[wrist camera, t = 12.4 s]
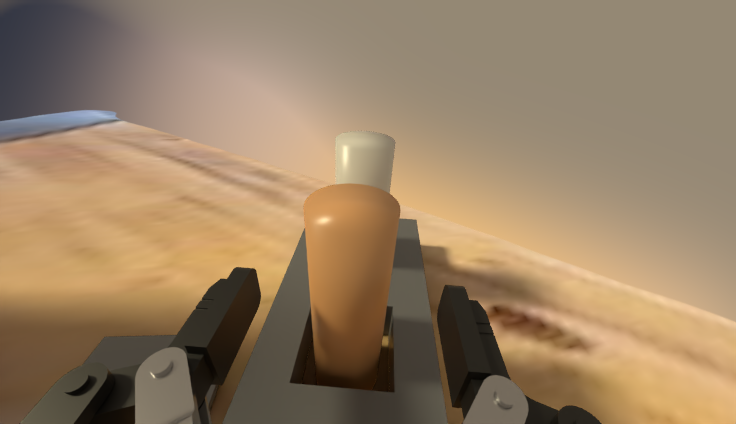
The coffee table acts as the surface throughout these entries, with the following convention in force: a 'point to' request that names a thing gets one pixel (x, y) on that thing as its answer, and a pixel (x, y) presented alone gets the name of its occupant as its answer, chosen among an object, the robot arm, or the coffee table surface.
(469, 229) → the coffee table surface
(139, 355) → the lid plate
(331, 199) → the peg
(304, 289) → the housing
